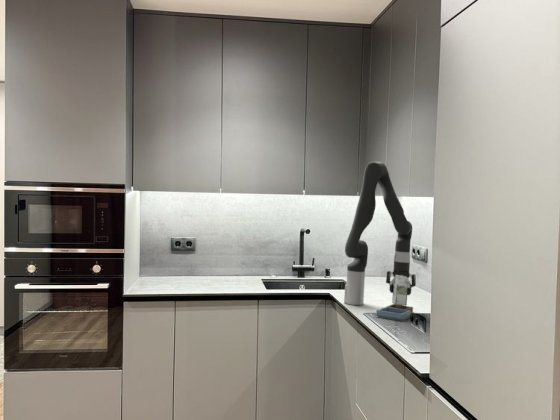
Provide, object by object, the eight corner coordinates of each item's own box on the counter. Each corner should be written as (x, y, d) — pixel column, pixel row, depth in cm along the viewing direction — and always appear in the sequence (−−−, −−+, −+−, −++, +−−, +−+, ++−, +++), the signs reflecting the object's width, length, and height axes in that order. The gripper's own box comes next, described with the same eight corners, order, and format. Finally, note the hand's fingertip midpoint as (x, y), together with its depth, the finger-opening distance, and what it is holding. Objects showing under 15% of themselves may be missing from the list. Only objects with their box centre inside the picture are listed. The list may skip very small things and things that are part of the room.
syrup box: (403, 303, 229) (405, 274, 230) (406, 305, 223) (408, 276, 224) (391, 303, 229) (393, 273, 230) (395, 305, 223) (397, 275, 224)
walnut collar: (385, 311, 225) (386, 306, 225) (393, 308, 233) (393, 303, 233) (405, 315, 219) (406, 310, 219) (412, 312, 227) (412, 307, 227)
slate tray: (376, 316, 213) (376, 310, 213) (386, 312, 222) (386, 306, 222) (401, 321, 206) (401, 314, 206) (410, 317, 216) (410, 310, 216)
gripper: (418, 261, 225) (416, 295, 226) (390, 258, 233) (388, 290, 234) (413, 263, 219) (411, 297, 219) (385, 259, 227) (383, 292, 227)
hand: (399, 293), depth 226 cm, fingers closed on syrup box, 8 cm apart
